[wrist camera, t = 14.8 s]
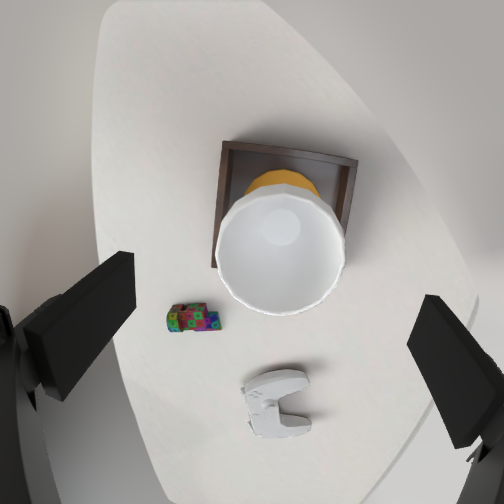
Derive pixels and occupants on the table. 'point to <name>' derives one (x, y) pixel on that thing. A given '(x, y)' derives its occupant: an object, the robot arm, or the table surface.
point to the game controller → (274, 404)
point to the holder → (275, 158)
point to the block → (192, 318)
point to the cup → (280, 245)
